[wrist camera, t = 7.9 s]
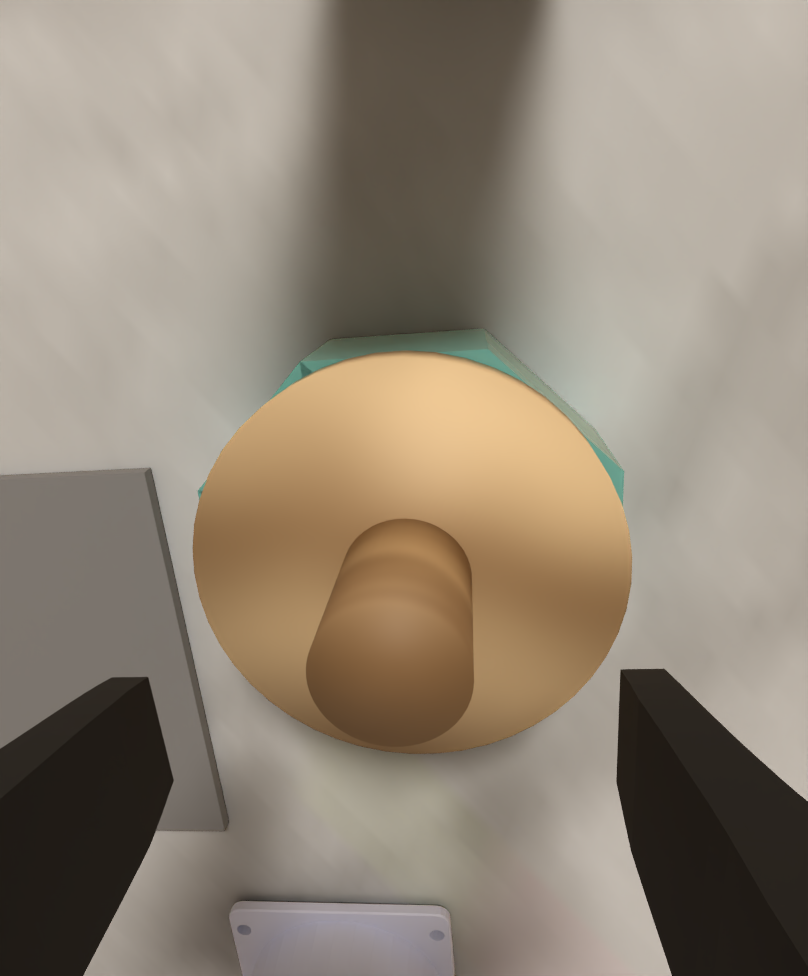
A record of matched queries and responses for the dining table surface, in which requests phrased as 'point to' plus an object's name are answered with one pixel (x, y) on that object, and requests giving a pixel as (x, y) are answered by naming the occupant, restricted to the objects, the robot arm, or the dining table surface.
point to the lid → (412, 553)
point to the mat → (100, 618)
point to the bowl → (459, 344)
